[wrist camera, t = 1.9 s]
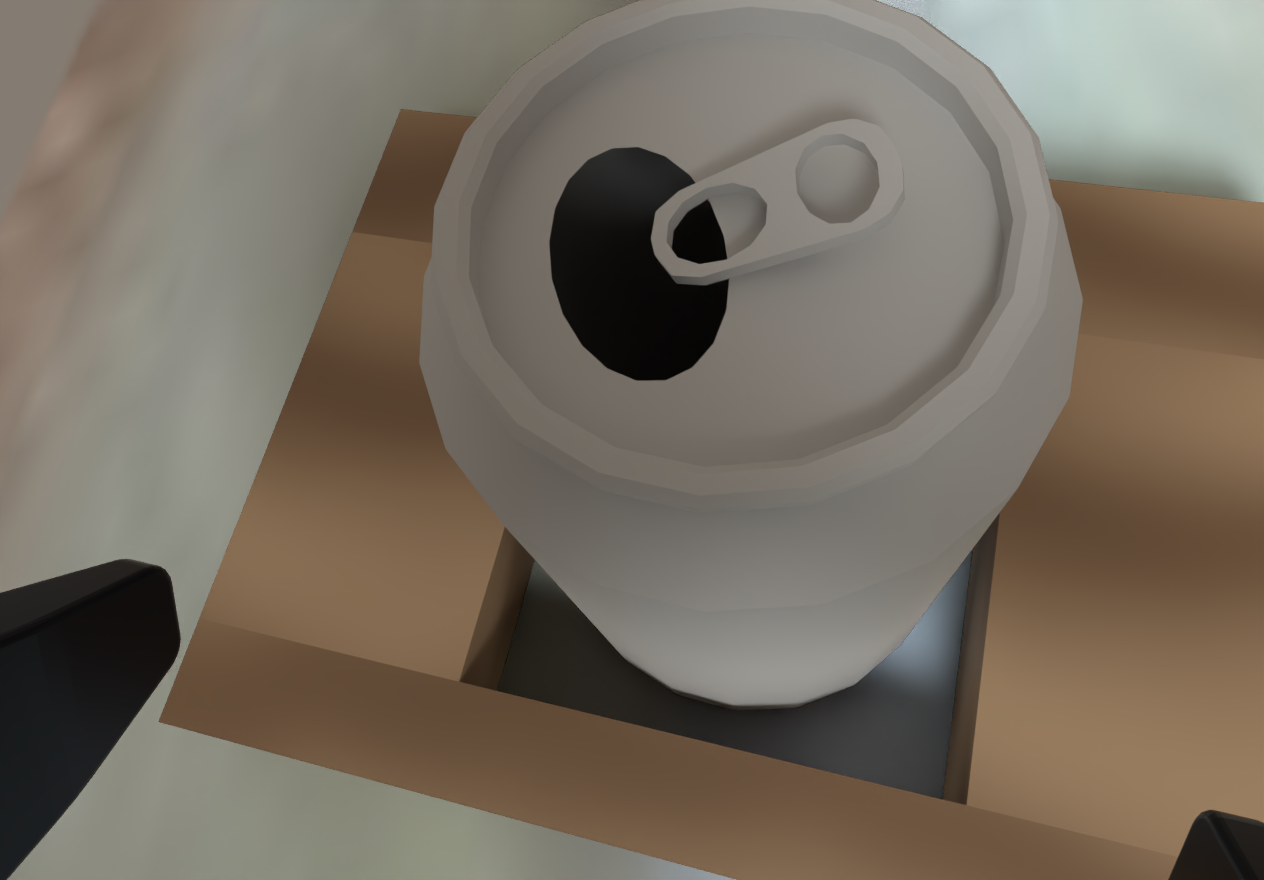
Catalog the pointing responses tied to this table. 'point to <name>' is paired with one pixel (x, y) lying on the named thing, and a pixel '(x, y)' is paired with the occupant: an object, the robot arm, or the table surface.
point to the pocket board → (742, 781)
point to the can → (749, 329)
